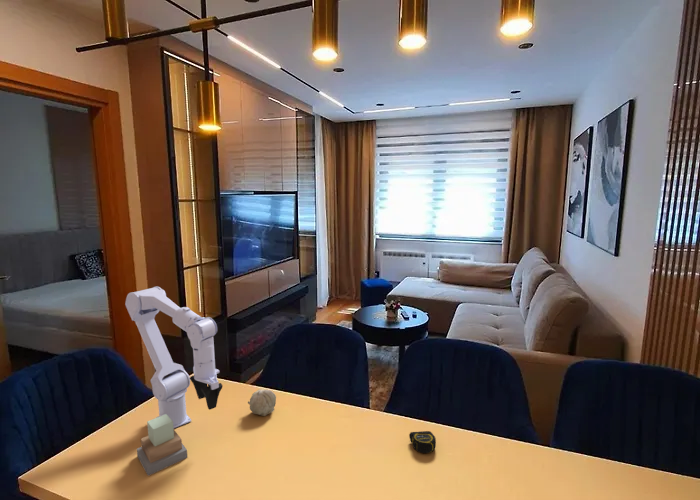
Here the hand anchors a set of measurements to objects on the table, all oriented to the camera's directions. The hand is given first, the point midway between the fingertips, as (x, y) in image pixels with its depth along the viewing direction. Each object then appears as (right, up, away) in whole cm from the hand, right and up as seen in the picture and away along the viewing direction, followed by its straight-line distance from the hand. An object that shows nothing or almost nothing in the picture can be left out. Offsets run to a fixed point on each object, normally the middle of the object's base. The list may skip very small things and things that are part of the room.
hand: (207, 402), depth 111 cm
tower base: (-9, -12, -8) cm, 17 cm away
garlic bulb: (+13, -9, +13) cm, 21 cm away
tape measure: (+64, -11, -4) cm, 65 cm away
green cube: (-10, -6, -8) cm, 14 cm away
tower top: (-9, -9, -8) cm, 16 cm away
